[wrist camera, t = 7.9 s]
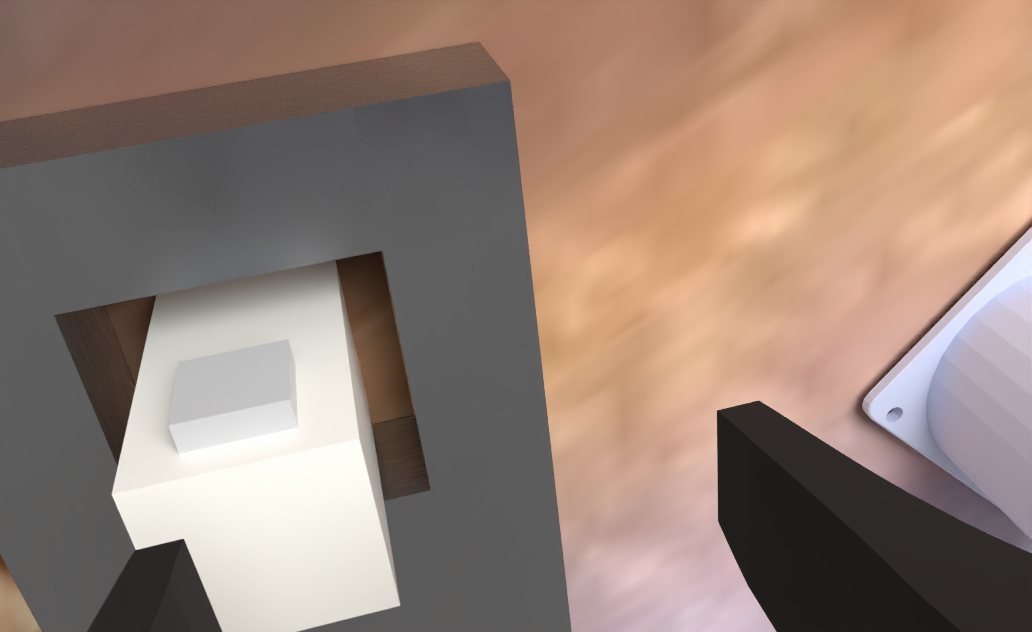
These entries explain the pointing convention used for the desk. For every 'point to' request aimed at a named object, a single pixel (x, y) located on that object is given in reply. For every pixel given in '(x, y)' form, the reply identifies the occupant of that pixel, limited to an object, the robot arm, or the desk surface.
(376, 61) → the jack panel
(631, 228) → the desk surface
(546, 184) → the desk surface
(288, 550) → the plug
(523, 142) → the desk surface
